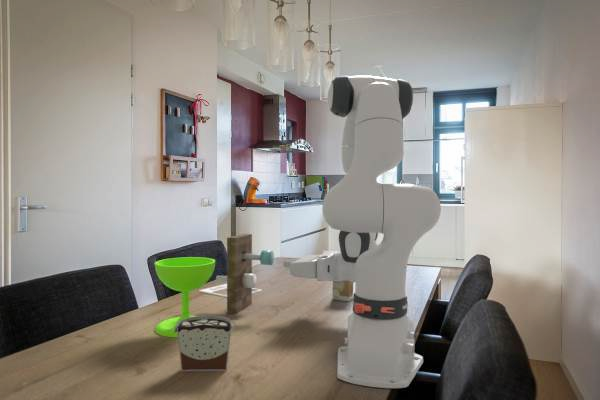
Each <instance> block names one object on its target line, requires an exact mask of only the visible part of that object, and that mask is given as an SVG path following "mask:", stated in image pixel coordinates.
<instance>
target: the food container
mask: <svg viewBox="0 0 600 400" xmlns="http://www.w3.org/2000/svg"><path fill="white" fill-rule="evenodd" d="M193 316H194V317H189V318H186V319H183V320H180V321H179V322H177V325H176V326H175V330H174V333H175V332H177V336H178V337H177V344H178V352H179V363H180V370H181V372H213V371H215V372H216V371H218V372H221V371H222V372H225V371H227V370H228V363H229V354H230V353H229V352H230V342H231V335H232V333H234V332H235V329H234V325H233V323H232V320H231V318H228V317H226V316H221V315H210V314H208V315H207V314H206V315H193Z"/></svg>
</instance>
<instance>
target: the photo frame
mask: <svg viewBox="0 0 600 400" xmlns="http://www.w3.org/2000/svg"><path fill="white" fill-rule="evenodd" d="M225 290H226V291H227V283H225V284H220V285H215V286H212V287H211V286H210V287H207V288H203V289H199V290H198V292H199V293H203V294H208V295H212V296H213V295H214V296H218V297H223V298H227V294H222V293H219V292H221V291H225ZM217 292H218V293H217ZM261 292H263V289H260V288H255V287H254V288H252V295H253V294H257V293H261Z"/></svg>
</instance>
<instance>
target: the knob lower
mask: <svg viewBox="0 0 600 400" xmlns="http://www.w3.org/2000/svg"><path fill="white" fill-rule="evenodd" d="M215 281H216V282H222V283H224V282H225V283H227V275H216V277H215ZM256 284H257V275H256V273H252V274H249V273H245V274H244V275H243V277H242V285H243V287H245V288H255V287H256Z"/></svg>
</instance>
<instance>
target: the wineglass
mask: <svg viewBox="0 0 600 400" xmlns="http://www.w3.org/2000/svg"><path fill="white" fill-rule="evenodd" d="M215 266H216V259H214V258H209V257H202V256H201V257H199V256H195V257H194V256H188V257H187V256H186V257H184V256H183V257H173V258H165V259H164V258H163V259H161V260H157V261H154V268H155V272H156V275H157V277H158V279H159V280H160V281H161V283H163V285H165V287H167V288H169V289H171V290H173V291H176V292H181V315H180V316H176V317H170V318H167V319H165V320H163V321H160V322H159V323H158V324H157V325H155V329H154V332H155V333H156V334H158V335H159V336H162V337H166V338H167V337H169V338H178V336H177V332H175V333H174V330H175V326H176V325H177V322H179V321H180V320H183V319H186V318H189V317H194V316H195V315H191V314H190V292H192V291H194V290H197V289H199V288H201V287H202V286H204V285H205V284H206V283H207V282H208V281H209V280H210V278H211V277H212V275H213V273H214V271H215Z"/></svg>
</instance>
